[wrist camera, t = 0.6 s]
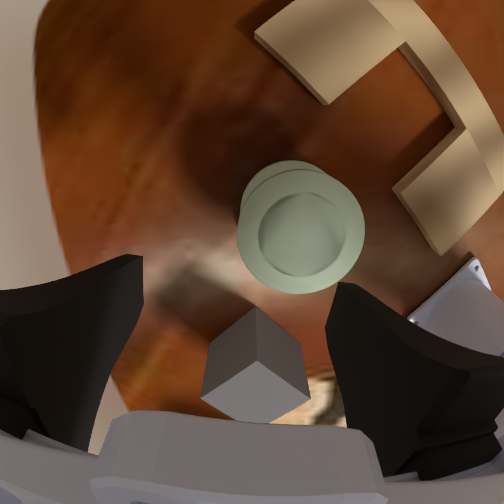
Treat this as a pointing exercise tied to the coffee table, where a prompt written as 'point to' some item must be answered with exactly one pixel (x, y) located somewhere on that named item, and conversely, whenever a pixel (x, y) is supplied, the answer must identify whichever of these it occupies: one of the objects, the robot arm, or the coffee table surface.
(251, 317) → the block
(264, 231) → the bobbin
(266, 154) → the coffee table surface
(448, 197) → the notched board
